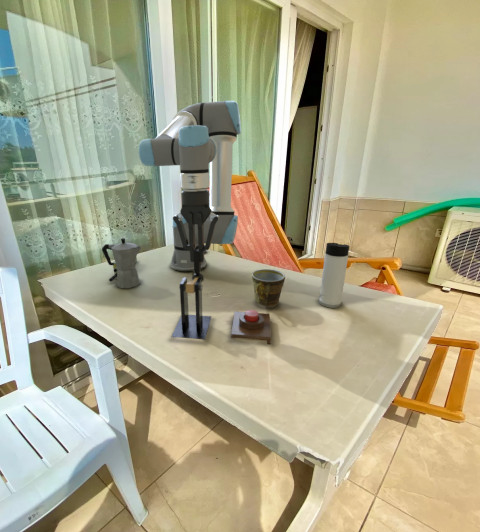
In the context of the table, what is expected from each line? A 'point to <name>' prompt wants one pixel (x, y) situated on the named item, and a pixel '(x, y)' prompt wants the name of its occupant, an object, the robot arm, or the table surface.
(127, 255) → the coffeepot
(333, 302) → the travel mug
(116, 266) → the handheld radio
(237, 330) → the button block
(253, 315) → the button
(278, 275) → the ceramic cup
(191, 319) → the switch bracket
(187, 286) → the switch lever
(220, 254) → the table surface
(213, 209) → the robot arm
